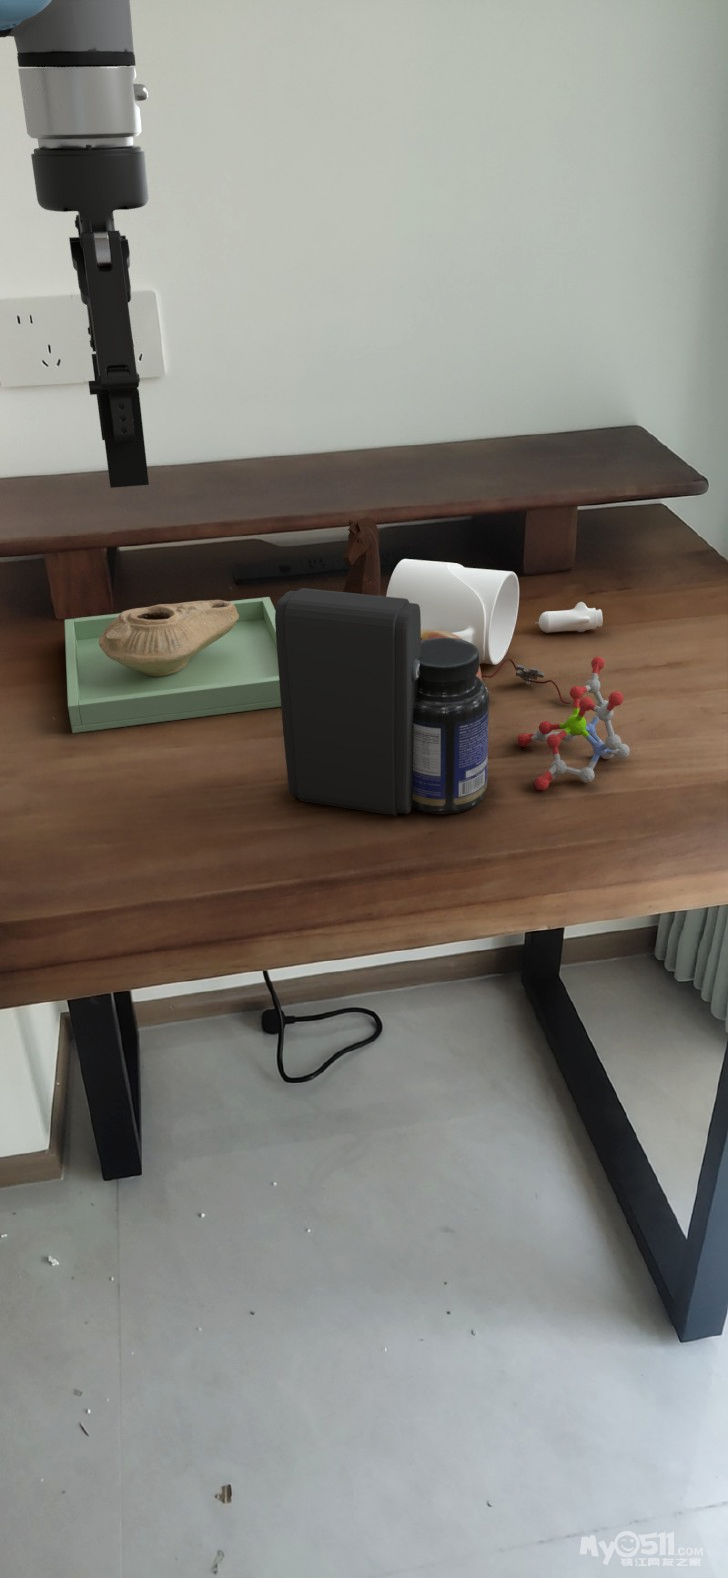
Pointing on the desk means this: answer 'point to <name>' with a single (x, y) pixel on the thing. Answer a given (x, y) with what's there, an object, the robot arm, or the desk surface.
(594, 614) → the small white plastic part
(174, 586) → the desk surface
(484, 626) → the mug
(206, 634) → the pottery oil lamp
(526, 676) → the pendant
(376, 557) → the chess piece
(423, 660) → the pill bottle
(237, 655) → the tray
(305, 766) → the dark grey rectangular block
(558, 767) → the molecular model
